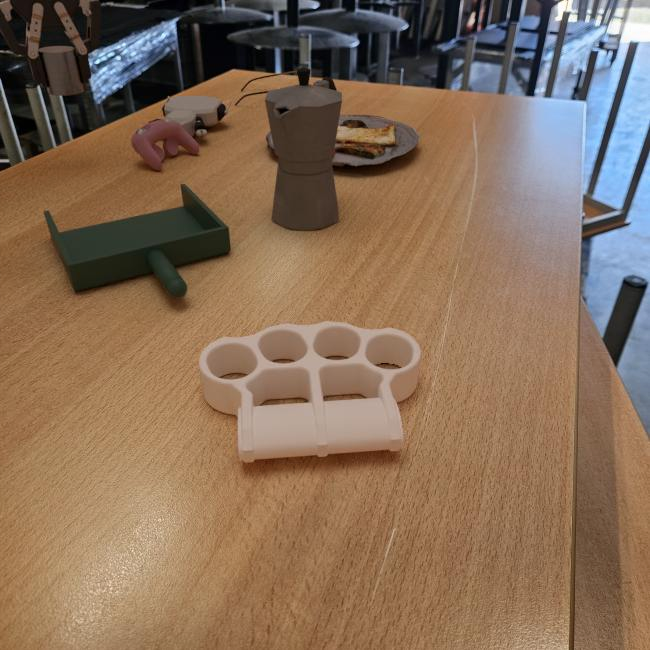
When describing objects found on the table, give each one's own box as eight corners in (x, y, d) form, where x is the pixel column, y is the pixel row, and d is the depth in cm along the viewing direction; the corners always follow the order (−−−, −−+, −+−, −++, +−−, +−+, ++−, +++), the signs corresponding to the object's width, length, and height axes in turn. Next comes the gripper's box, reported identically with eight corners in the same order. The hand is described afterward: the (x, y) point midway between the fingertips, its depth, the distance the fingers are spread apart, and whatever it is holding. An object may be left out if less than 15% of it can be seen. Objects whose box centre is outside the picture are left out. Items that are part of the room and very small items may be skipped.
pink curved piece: (186, 159, 95) (166, 117, 93) (204, 151, 92) (184, 108, 90) (143, 178, 88) (120, 134, 86) (160, 170, 86) (137, 124, 83)
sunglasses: (307, 108, 115) (305, 82, 112) (234, 113, 116) (230, 87, 113) (308, 90, 127) (306, 66, 124) (242, 95, 127) (238, 71, 124)
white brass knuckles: (195, 476, 40) (207, 348, 52) (444, 457, 42) (401, 336, 54) (188, 443, 38) (202, 317, 50) (451, 424, 40) (405, 307, 52)
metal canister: (51, 97, 79) (40, 53, 75) (45, 89, 82) (34, 47, 79) (87, 93, 81) (78, 50, 77) (80, 85, 84) (71, 44, 81)
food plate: (244, 163, 90) (242, 140, 88) (297, 121, 108) (296, 102, 106) (399, 184, 84) (401, 160, 82) (428, 136, 101) (431, 116, 99)
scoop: (51, 237, 69) (43, 211, 67) (188, 208, 76) (184, 183, 74) (94, 335, 53) (85, 304, 51) (261, 287, 60) (259, 257, 58)
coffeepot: (318, 244, 68) (318, 85, 58) (249, 229, 71) (237, 76, 61) (362, 196, 80) (369, 56, 69) (301, 185, 83) (299, 50, 72)
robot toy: (209, 152, 96) (235, 119, 108) (206, 125, 93) (232, 94, 105) (141, 147, 98) (173, 115, 109) (135, 120, 95) (169, 91, 106)
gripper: (84, -62, 76) (109, 74, 86) (-37, -63, 70) (5, 84, 80) (97, -60, 71) (122, 85, 81) (-32, -60, 65) (12, 96, 75)
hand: (64, 83), depth 81 cm, fingers closed on metal canister, 4 cm apart
